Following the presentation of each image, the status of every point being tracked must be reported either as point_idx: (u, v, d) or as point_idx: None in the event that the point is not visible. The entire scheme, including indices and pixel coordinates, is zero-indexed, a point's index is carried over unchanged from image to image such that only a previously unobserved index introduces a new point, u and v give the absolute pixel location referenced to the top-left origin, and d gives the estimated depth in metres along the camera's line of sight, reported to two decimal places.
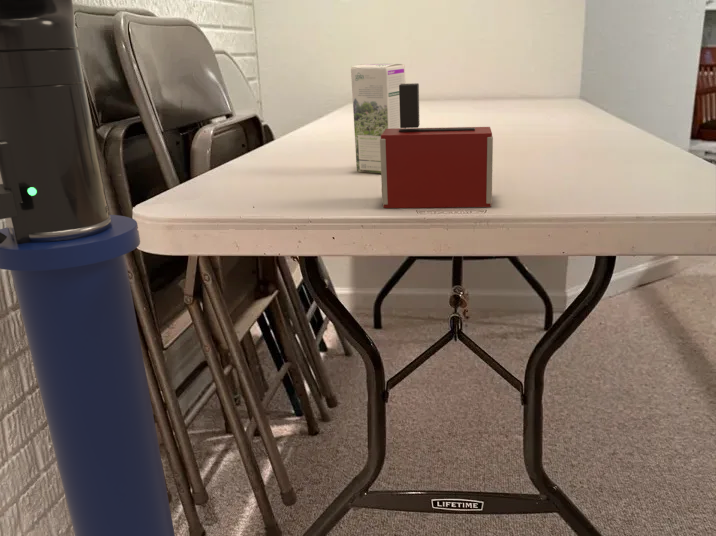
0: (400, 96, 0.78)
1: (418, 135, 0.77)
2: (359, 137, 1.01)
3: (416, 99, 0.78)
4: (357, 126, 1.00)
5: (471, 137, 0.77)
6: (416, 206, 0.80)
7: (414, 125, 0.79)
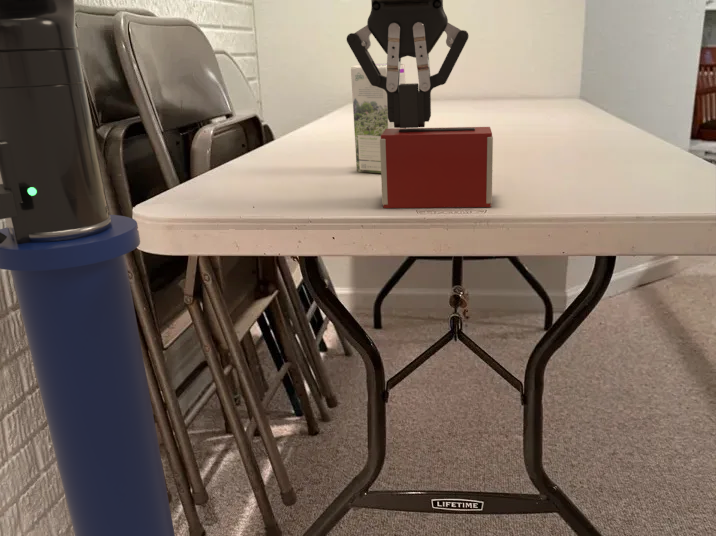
0: (400, 96, 0.78)
1: (418, 135, 0.77)
2: (359, 137, 1.01)
3: (416, 99, 0.78)
4: (357, 126, 1.00)
5: (471, 137, 0.77)
6: (416, 206, 0.80)
7: (414, 125, 0.79)
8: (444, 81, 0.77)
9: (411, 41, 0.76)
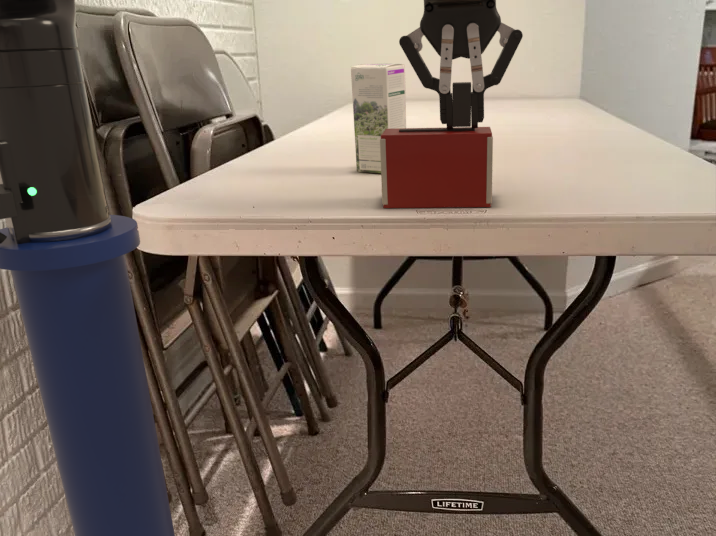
0: (453, 95, 0.77)
1: (418, 135, 0.77)
2: (359, 137, 1.01)
3: (469, 98, 0.77)
4: (357, 126, 1.00)
5: (471, 137, 0.77)
6: (416, 206, 0.80)
7: (467, 124, 0.78)
8: (498, 81, 0.76)
9: (464, 42, 0.75)
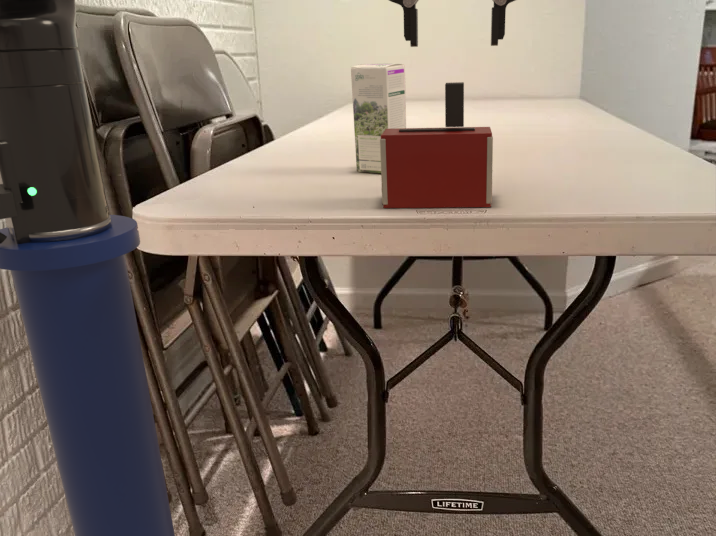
0: (446, 95, 0.77)
1: (418, 135, 0.77)
2: (359, 137, 1.01)
3: (462, 98, 0.77)
4: (357, 126, 1.00)
5: (471, 137, 0.77)
6: (416, 206, 0.80)
7: (459, 124, 0.78)
8: None
9: None
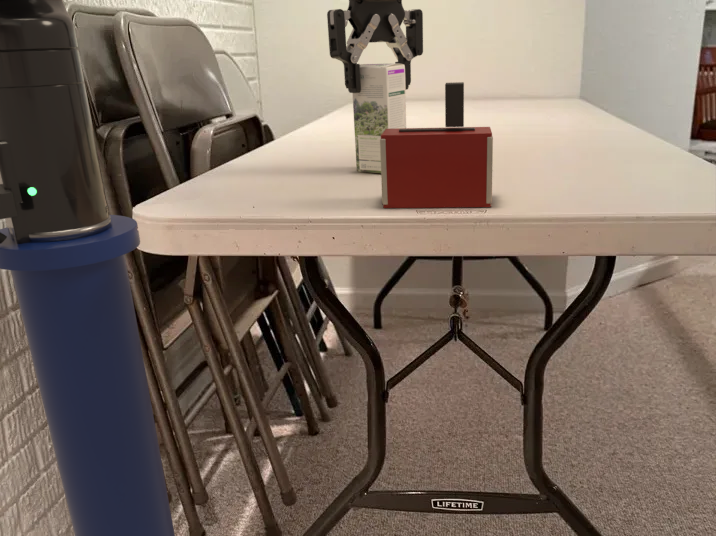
0: (446, 95, 0.77)
1: (418, 135, 0.77)
2: (359, 137, 1.01)
3: (462, 98, 0.77)
4: (357, 126, 1.00)
5: (471, 137, 0.77)
6: (416, 206, 0.80)
7: (459, 124, 0.78)
8: (421, 52, 1.00)
9: (383, 28, 0.96)
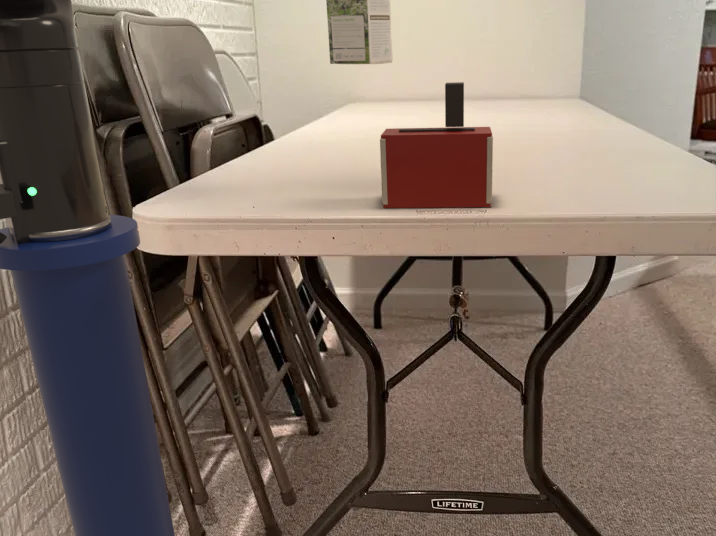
0: (446, 95, 0.77)
1: (418, 135, 0.77)
2: (333, 19, 0.83)
3: (462, 98, 0.77)
4: (330, 5, 0.82)
5: (471, 137, 0.77)
6: (416, 206, 0.80)
7: (459, 124, 0.78)
8: None
9: None
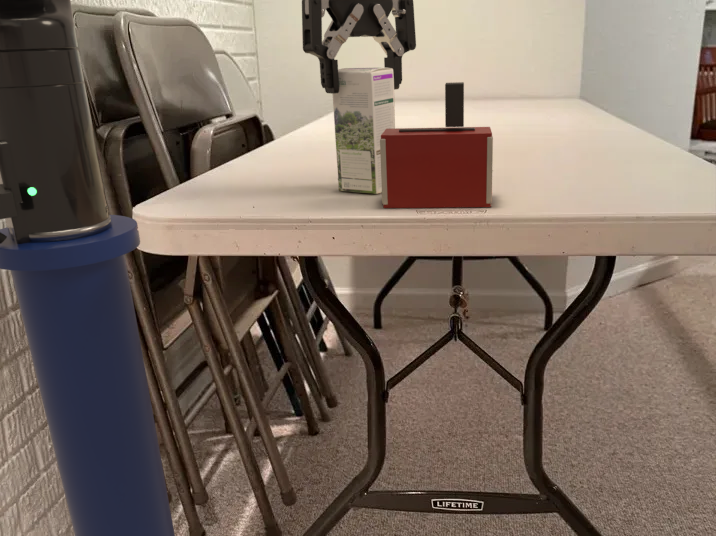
0: (446, 95, 0.77)
1: (418, 135, 0.77)
2: (341, 152, 0.88)
3: (462, 98, 0.77)
4: (339, 140, 0.87)
5: (471, 137, 0.77)
6: (416, 206, 0.80)
7: (459, 124, 0.78)
8: (414, 47, 0.88)
9: (368, 21, 0.83)
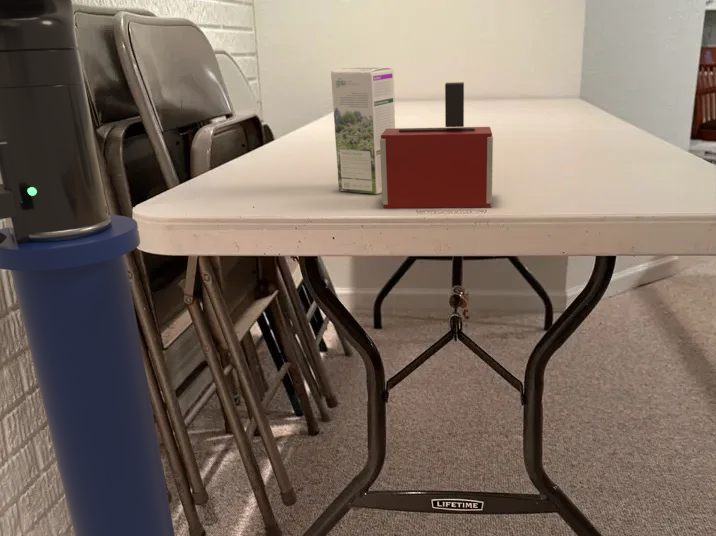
0: (446, 95, 0.77)
1: (418, 135, 0.77)
2: (341, 152, 0.88)
3: (462, 98, 0.77)
4: (339, 140, 0.87)
5: (471, 137, 0.77)
6: (416, 206, 0.80)
7: (459, 124, 0.78)
8: None
9: None
